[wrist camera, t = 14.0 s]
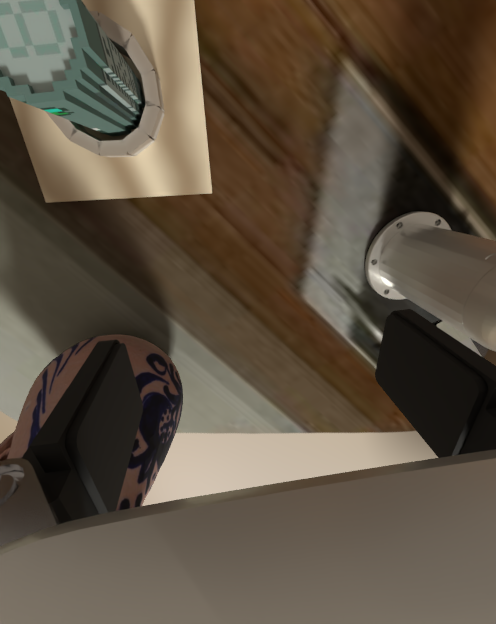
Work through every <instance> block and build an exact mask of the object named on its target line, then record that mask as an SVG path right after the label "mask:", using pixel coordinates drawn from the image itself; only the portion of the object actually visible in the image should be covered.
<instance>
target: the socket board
mask: <svg viewBox="0 0 496 624" xmlns="http://www.w3.org/2000/svg"><path fill="white" fill-rule="evenodd" d="M81 1H82V2H83V3H84V5H85V6H86V7H87V9H88V10H89V11H90V13H91V14H92V16H93V17H94V18H95V20H96V21H97V22H98V24H99V25H100V27H101V28H102V29H103V31H104V32H105V33H106V35H107V36H108V38H109V39H110V40H111V42H112V43H113V44H114V46H115V47H116V48H117V50H118V51H119V53H120V54H121V55H122V57H123V58H124V59H125V61H126V62H127V64H128V65H129V66H130V68H131V69H132V70H133V72H134V74H135V75H136V77H137V78H138V80H139V81H140V83H141V87H142V91H143V96H144V100H145V104H146V105H145V108H142V109H143V114H142V118H141V121H140V124H138V128H136V129H131V133H130V134H129V135H121V136H113V137H112V136H109V135H107V134H104V133H101V132H99V131H96V130H94V129H91V128H88V127H86V126H83V125H81V124H78V123H75V122H73V121H70V120H68V119H65V118H62V117H60V116H57V115H54V114H52V113H49V112H47V111H44V110H41V109H39V108H36V107H34V106H31V105H28V104H26V103H23V102H21V101H18V100H16V99H13V98H10V97H9V98H10V101H11V104H12V106H13V109H14V112H15V115H16V118H17V121H18V124H19V127H20V129H21V132H22V135H23V138H24V141H25V144H26V147H27V149H28V152H29V155H30V158H31V161H32V164H33V167H34V170H35V172H36V175H37V178H38V181H39V184H40V187H41V190H42V193H43V195H44V198H45V201H46V203H49V202H67V201H84V200H102V199H120V198H137V197H155V196H173V195H190V194H208V193H212V186H211V175H210V165H209V154H208V143H207V133H206V122H205V112H204V101H203V91H202V80H201V69H200V59H199V48H198V38H197V27H196V17H195V6H194V0H81Z"/></svg>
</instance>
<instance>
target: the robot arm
mask: <svg viewBox="0 0 496 624" xmlns="http://www.w3.org/2000/svg"><path fill="white" fill-rule="evenodd" d="M365 272H366V278H367V280H368V282H369V284H370V286H371V287H372V288H373V289H374V290H375V291H376V292H377V293H379V294H380V295H382V296H384V297H386V298H389V299H397V300H398V299H406V298H407V299H409V300H411V301H412V302H414V303H415V304H417V305H418V306H420V307H422V308H423V309H425V310H426V311H428V312H430V313H431V314H433V315H434V316H436V317H438V318H439V319H441V320H442V321H444V322H445V323H447V324H449V325H450V326H452V327H453V328H455V329H457V330H458V331H460V332H461V333H463V334H465V335H466V336H468V337H470V338H471V339H473V340H474V341H476V342H478V343H479V344H481V345H483V346H484V347H486V348H488V349H491V350H493V351H496V241H494V240H489V239H485V238H481V237H477V236H472V235H468V234H464V233H460V232H455V231H452V230H451V228H450V226H449V224H448V223H447V222H446V221H445V220H444V219H443V218H442V217H440V216H439V215H437V214H434V213H430V212H424V211H416V212H410V213H406V214H403V215H401V216H399V217H397V218H395V219H394V220H392V221H391V222H389V223H388V224H387V225H386V226H385V227H384V228H383V229H382V230H381V231H380V232H379V233H378V234H377V236H376V237H375V238H374V240H373V242H372V244H371V245H370V248H369V250H368V253H367V256H366V261H365ZM375 377H376V380H377V382H378V384H379V385H380V386H381V387H382V389H383V390H384V391H385V392H386V394H387V395H388V396H389V397H390V398H391V400H392V401H393V402H394V403H395V405H396V406H397V407H398V408H399V410H400V411H401V412H402V413H403V414H404V416H405V417H406V418H407V419H408V421H409V422H410V423H411V424H412V426H413V427H414V428H415V429H416V430H417V432H418V433H419V434H420V435H421V437H422V438H423V439H424V440H425V442H426V443H427V444H428V445H429V446H430V448H431V449H432V450H433V451H434V453H435V454H436V455H437V456H438V458H435V459H428V460H422V461H415V462H409V463H403V464H397V465H389V466H383V467H377V468H370V469H364V470H358V471H352V472H345V473H339V474H333V475H327V476H320V477H315V478H308V479H301V480H295V481H289V482H283V483H277V484H271V485H264V486H259V487H252V488H246V489H241V490H234V491H228V492H222V493H216V494H210V495H204V496H198V497H192V498H186V499H180V500H174V501H169V502H164V503H158V504H152V505H147V506H141V507H136V508H130V509H125V510H119V511H116V508H117V505H118V501H119V497H120V494H121V490H122V486H123V483H124V479H125V475H126V472H127V468H128V464H129V460H130V457H131V453H132V449H133V446H134V442H135V438H136V435H137V431H138V427H139V424H140V420H141V416H142V412H143V404H142V400H141V396H140V393H139V389H138V386H137V382H136V379H135V376H134V372H133V369H132V365H131V362H130V358H129V355H128V352H127V348H126V345H125V344H124V343H120V342H119V341H118V340H107V341H99V342H98V343H97V344H96V345H95V347H94V348H93V350H92V351H91V353H90V354H89V356H88V358H87V359H86V361H85V362H84V364H83V365H82V367H81V368H80V370H79V371H78V373H77V374H76V376H75V377H74V379H73V381H72V382H71V384H70V385H69V387H68V388H67V389H66V391H65V392H64V394H63V395H62V397H61V398H60V400H59V401H58V403H57V404H56V406H55V408H54V409H53V411H52V412H51V414H50V415H49V417H48V418H47V420H46V421H45V423H44V424H43V426H42V427H41V429H40V431H39V432H38V434H37V435H36V437H35V438H34V440H33V441H32V443H31V444H30V446H29V447H28V449H27V450H26V452H25V453H24V455H23V457H22V458H11V459H7V460H3V461H0V624H496V366H495V365H494V364H492V363H491V362H489V361H488V360H486V359H485V358H483V357H482V356H480V355H479V354H477V353H476V352H474V351H473V350H471V349H470V348H468V347H467V346H465V345H464V344H462V343H461V342H459V341H458V340H456V339H455V338H453V337H452V336H450V335H449V334H447V333H446V332H444V331H443V330H441V329H440V328H438V327H437V326H435V325H434V324H432V323H431V322H429V321H428V320H426V319H425V318H423V317H422V316H420V315H419V314H417V313H416V312H414V311H413V310H410V309H407V310H397V311H393V312H392V313H391V315H389V316H388V317H387V319H386V324H385V328H384V333H383V338H382V343H381V348H380V353H379V358H378V363H377V367H376V372H375Z"/></svg>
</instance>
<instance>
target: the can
mask: <svg viewBox="0 0 496 624" xmlns="http://www.w3.org/2000/svg"><path fill="white" fill-rule="evenodd" d="M0 90H2V91H5V92H6V93H7V96H8V97H10V98H13V99H16V100H18V101H21V102H23V103H26V104H28V105H31V106H34V107H36V108H39V109H41V110H44V111H47V112H49V113H52V114H54V115H57V116H60V117H62V118H65V119H68V120H70V121H73V122H75V123H78V124H81V125H83V126H86V127H88V128H91V129H94V130H96V131H99V132H101V133H104V134H107V135H109V136H112V137H113V136H121V135H129V134H130V133H131V129H136V128H138V124H140V121H141V118H142V114H143V109H142V108H145V105H146V104H145V100H144V96H143V91H142V87H141V83H140V81H139V80H138V78H137V77H136V75H135V74H134V72H133V70H132V69H131V68H130V66H129V65H128V64H127V62H126V61H125V59H124V58H123V57H122V55H121V54H120V53H119V51H118V50H117V48H116V47H115V46H114V44H113V43H112V42H111V40H110V39H109V38H108V36H107V35H106V33H105V32H104V31H103V29H102V28H101V27H100V25H99V24H98V22H97V21H96V20H95V18H94V17H93V16H92V14H91V13H90V11H89V10H88V9H87V7H86V6H85V5H84V3H83V2H82V1H81V0H0Z"/></svg>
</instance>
